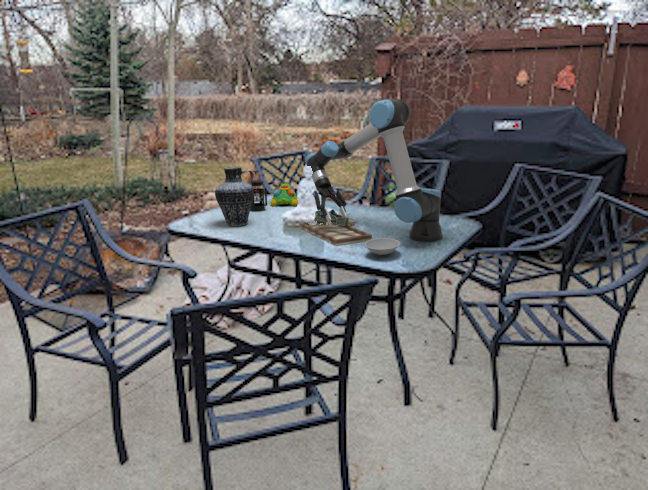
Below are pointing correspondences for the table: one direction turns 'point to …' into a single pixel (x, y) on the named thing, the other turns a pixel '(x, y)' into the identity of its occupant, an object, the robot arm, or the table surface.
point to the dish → (382, 245)
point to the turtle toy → (284, 196)
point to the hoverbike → (333, 219)
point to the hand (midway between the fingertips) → (337, 219)
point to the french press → (259, 206)
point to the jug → (235, 196)
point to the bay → (337, 233)
